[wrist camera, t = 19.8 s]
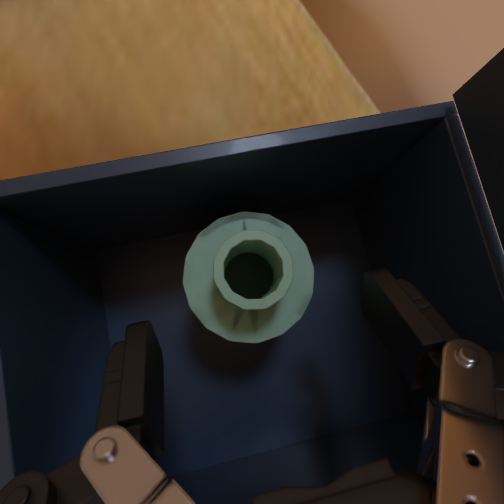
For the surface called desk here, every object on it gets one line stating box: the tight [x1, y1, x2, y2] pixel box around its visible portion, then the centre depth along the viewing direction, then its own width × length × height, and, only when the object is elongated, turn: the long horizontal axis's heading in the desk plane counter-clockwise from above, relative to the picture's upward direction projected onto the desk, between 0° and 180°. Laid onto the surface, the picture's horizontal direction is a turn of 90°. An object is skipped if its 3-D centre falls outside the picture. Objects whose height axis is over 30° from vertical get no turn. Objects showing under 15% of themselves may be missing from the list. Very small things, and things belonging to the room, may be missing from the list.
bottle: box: [183, 212, 314, 343], centre depth 18 cm, size 6×6×10 cm
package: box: [0, 101, 504, 504], centre depth 17 cm, size 18×15×11 cm
